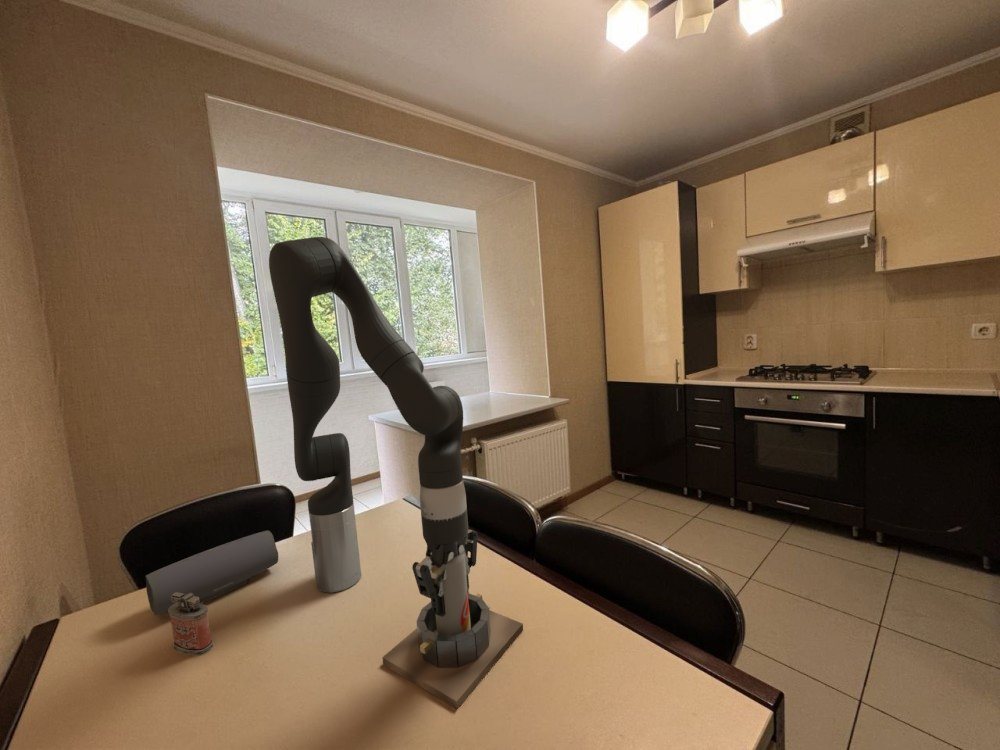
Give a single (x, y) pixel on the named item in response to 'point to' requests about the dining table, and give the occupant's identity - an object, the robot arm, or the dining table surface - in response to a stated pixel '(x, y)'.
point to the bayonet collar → (454, 637)
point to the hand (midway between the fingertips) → (451, 603)
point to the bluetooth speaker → (212, 571)
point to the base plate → (452, 681)
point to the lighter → (190, 625)
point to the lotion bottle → (453, 595)
